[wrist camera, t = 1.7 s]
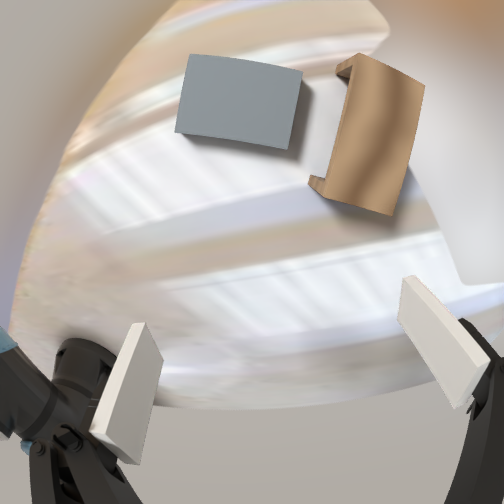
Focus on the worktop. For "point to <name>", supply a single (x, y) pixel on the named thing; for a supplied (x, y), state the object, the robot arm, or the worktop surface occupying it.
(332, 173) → the tan wooden channel
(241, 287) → the worktop surface
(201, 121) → the tile
